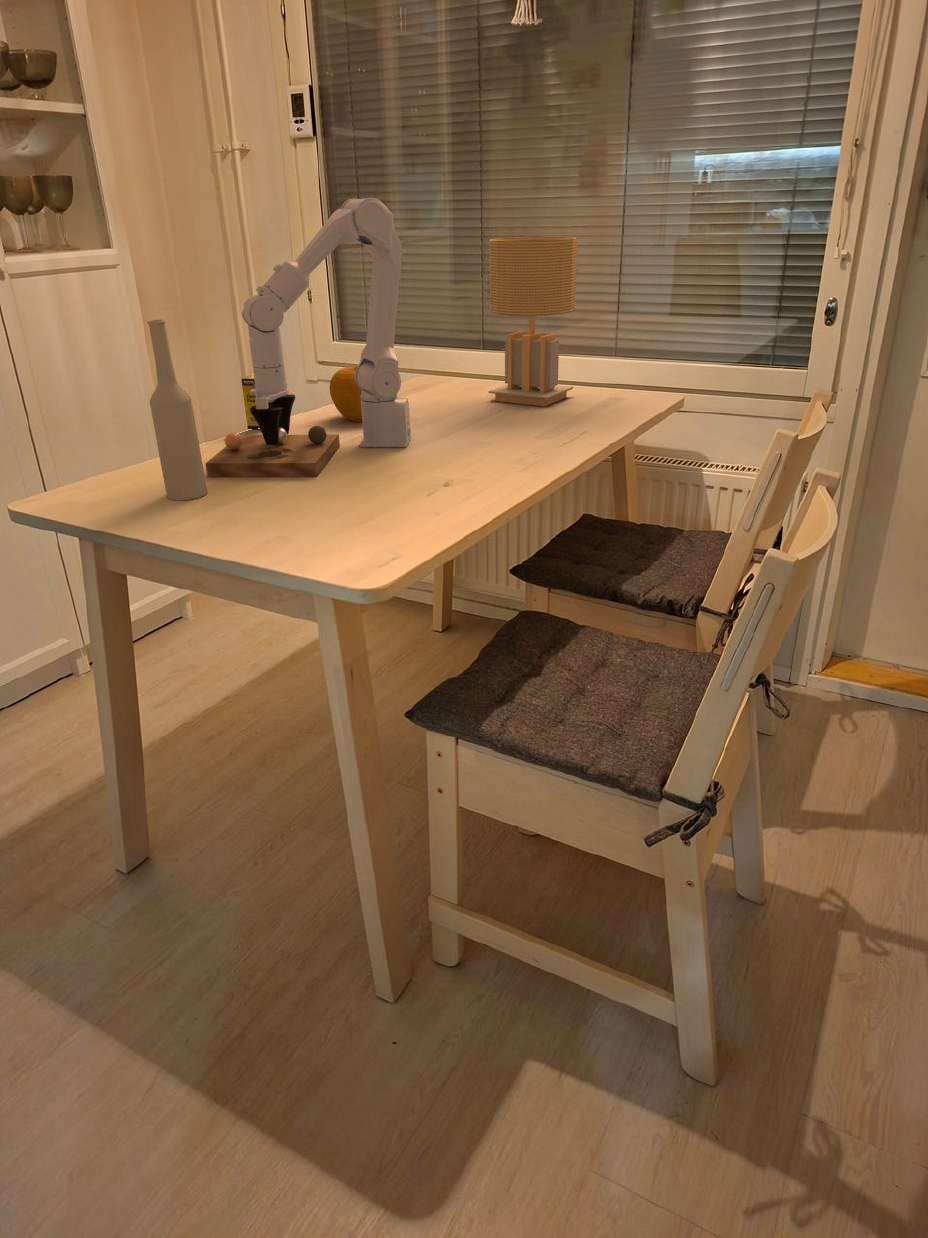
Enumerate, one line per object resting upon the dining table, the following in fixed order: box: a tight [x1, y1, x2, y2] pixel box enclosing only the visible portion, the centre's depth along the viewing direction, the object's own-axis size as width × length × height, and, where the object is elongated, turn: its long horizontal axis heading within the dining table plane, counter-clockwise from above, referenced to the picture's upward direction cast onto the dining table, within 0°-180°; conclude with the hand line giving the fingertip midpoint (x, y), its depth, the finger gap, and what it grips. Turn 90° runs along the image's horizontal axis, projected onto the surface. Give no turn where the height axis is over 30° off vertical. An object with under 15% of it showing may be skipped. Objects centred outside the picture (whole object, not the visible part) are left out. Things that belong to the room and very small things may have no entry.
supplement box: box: [240, 372, 261, 431], centre depth 182 cm, size 6×6×11 cm
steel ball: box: [278, 427, 288, 444], centre depth 160 cm, size 3×3×3 cm
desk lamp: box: [488, 236, 578, 407], centre depth 195 cm, size 20×20×35 cm
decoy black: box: [307, 425, 327, 444], centre depth 159 cm, size 3×3×3 cm
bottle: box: [146, 318, 208, 502], centre depth 136 cm, size 7×7×28 cm
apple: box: [329, 365, 362, 423], centre depth 186 cm, size 13×13×11 cm
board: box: [204, 433, 341, 478], centre depth 159 cm, size 20×20×2 cm
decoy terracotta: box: [224, 432, 243, 450], centre depth 157 cm, size 3×3×3 cm
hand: (277, 439), depth 159 cm, fingers open, 7 cm apart
